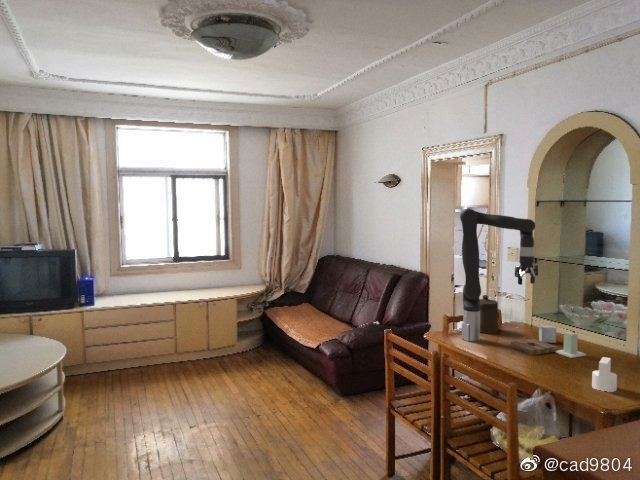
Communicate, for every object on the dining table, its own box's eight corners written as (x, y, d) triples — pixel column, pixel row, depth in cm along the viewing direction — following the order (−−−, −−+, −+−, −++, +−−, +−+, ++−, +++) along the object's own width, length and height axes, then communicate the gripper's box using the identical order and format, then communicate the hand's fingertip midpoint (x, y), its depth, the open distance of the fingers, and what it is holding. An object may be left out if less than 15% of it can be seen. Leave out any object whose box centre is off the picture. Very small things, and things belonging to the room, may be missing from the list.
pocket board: (532, 355, 246) (532, 350, 246) (510, 346, 261) (510, 341, 261) (556, 351, 252) (556, 346, 252) (533, 343, 267) (533, 338, 267)
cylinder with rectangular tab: (594, 382, 209) (594, 355, 208) (618, 387, 203) (619, 359, 202) (589, 388, 202) (590, 360, 201) (614, 393, 196) (615, 365, 195)
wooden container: (485, 326, 304) (485, 292, 303) (503, 331, 291) (503, 296, 289) (467, 329, 298) (467, 294, 296) (484, 334, 285) (485, 298, 283)
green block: (570, 354, 244) (571, 335, 244) (563, 351, 249) (563, 332, 248) (577, 353, 246) (577, 334, 245) (569, 350, 250) (570, 331, 249)
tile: (571, 358, 241) (571, 356, 241) (555, 352, 250) (555, 350, 250) (585, 355, 244) (586, 354, 244) (569, 349, 254) (569, 348, 254)
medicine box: (553, 340, 271) (553, 325, 270) (556, 343, 266) (556, 327, 266) (538, 340, 272) (538, 325, 271) (541, 342, 267) (541, 327, 266)
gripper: (531, 253, 271) (531, 282, 272) (511, 255, 266) (511, 283, 267) (542, 255, 264) (541, 284, 265) (521, 256, 259) (521, 286, 260)
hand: (526, 284), depth 266 cm, fingers open, 8 cm apart
